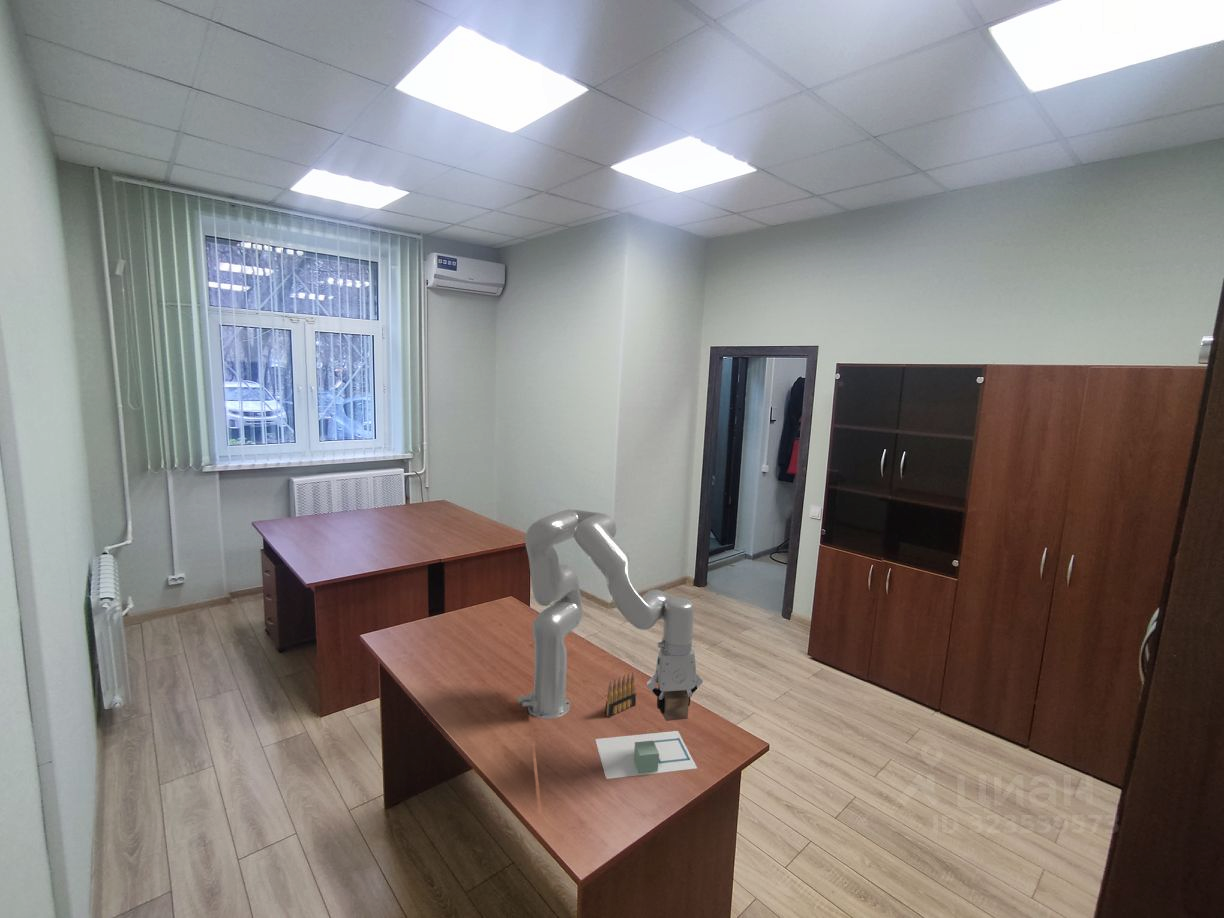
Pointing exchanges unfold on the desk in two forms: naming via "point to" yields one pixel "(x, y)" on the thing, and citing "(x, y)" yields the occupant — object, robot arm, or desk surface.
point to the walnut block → (676, 705)
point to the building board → (621, 754)
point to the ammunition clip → (621, 695)
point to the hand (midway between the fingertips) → (673, 708)
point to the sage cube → (646, 757)
